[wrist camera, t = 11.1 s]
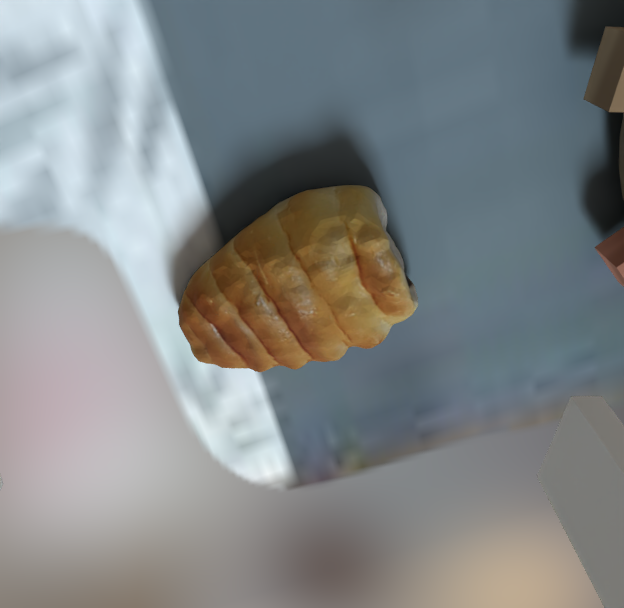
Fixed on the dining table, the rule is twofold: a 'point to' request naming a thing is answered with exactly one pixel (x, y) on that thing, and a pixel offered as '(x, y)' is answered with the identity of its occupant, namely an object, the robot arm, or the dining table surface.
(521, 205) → the dining table surface
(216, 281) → the pastry
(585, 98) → the turntable
